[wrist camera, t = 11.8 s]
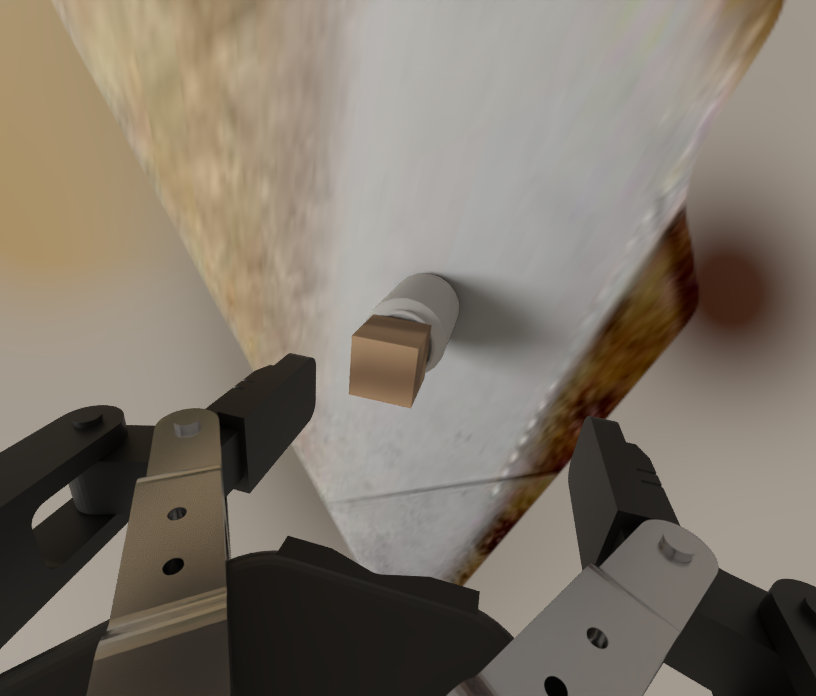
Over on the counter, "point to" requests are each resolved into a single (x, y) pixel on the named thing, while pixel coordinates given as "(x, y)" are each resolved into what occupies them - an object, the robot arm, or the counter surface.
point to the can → (424, 309)
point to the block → (389, 360)
